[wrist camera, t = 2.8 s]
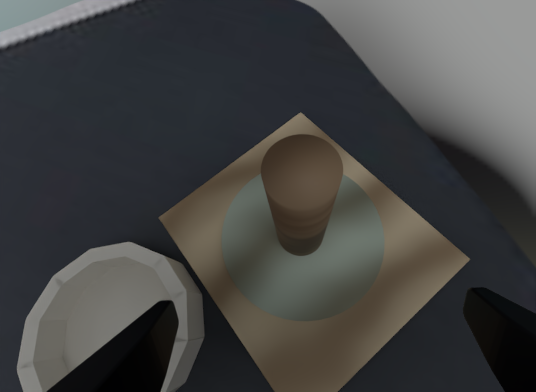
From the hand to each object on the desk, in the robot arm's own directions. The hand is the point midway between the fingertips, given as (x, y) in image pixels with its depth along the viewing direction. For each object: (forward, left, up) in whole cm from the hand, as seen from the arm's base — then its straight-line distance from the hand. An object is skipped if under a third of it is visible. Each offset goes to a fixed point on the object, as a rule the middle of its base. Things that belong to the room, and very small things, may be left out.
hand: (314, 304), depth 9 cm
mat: (+4, -3, -12) cm, 13 cm away
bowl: (+7, +11, -12) cm, 18 cm away
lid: (+4, -3, -12) cm, 13 cm away
